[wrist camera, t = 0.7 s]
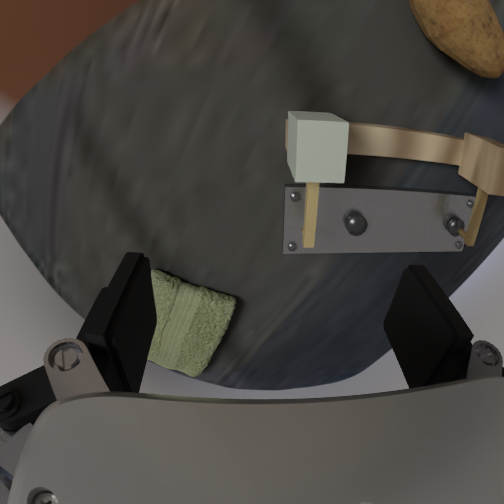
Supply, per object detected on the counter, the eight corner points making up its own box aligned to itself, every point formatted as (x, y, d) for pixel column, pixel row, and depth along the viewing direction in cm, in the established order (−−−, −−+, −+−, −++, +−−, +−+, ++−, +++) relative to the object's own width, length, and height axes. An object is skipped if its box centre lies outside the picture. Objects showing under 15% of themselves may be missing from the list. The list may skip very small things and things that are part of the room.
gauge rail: (484, 134, 29) (526, 154, 22) (465, 224, 35) (497, 257, 28) (285, 108, 29) (297, 119, 22) (283, 222, 35) (291, 261, 28)
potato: (447, 92, 27) (491, 103, 20) (370, -11, 21) (403, -31, 14) (492, 54, 23) (536, 59, 16) (424, -44, 18) (462, -61, 11)
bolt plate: (473, 194, 33) (481, 200, 31) (458, 247, 37) (465, 255, 35) (284, 183, 33) (286, 190, 31) (282, 249, 37) (283, 258, 35)
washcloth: (128, 344, 47) (122, 359, 44) (148, 260, 38) (141, 275, 36) (204, 368, 50) (202, 384, 47) (244, 293, 41) (244, 310, 39)
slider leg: (330, 113, 27) (349, 122, 22) (322, 230, 34) (334, 261, 28) (288, 111, 27) (297, 119, 22) (284, 230, 34) (291, 262, 28)
